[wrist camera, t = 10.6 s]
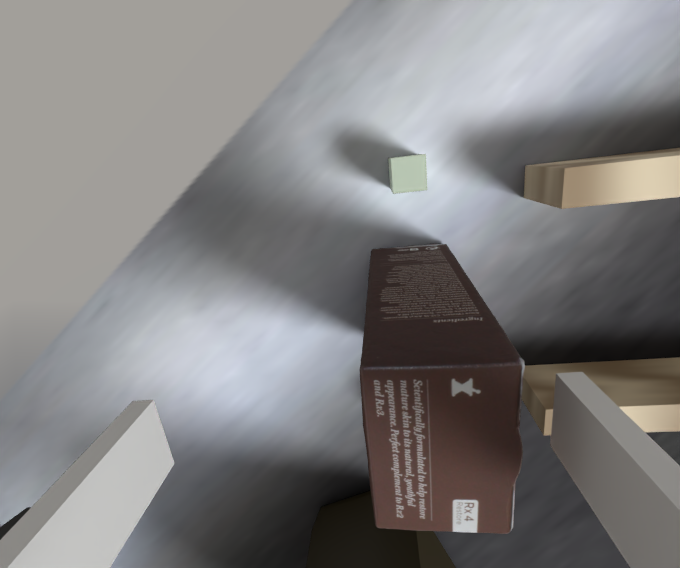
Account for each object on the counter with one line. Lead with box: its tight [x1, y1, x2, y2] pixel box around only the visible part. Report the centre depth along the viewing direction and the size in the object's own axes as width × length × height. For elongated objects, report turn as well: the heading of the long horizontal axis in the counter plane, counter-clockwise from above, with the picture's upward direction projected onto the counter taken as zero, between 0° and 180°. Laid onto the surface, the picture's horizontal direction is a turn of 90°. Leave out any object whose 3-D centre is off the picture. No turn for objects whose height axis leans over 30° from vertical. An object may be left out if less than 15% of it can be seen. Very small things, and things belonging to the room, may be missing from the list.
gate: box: [388, 154, 427, 194], centre depth 20 cm, size 2×16×3 cm, turn 7°
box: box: [360, 244, 525, 534], centre depth 15 cm, size 6×4×12 cm
